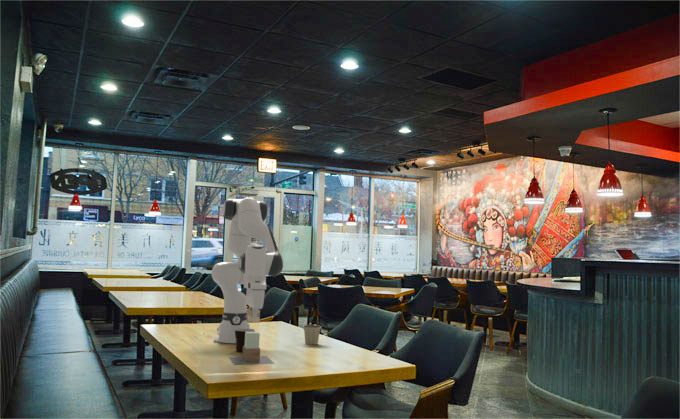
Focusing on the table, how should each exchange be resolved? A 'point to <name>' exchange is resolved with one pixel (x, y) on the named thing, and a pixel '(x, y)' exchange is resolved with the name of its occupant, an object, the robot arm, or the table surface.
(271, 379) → the table surface
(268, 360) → the plate
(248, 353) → the walnut block
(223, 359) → the table surface
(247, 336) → the sage block
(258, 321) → the maple block
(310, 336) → the flower pot
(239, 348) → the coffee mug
